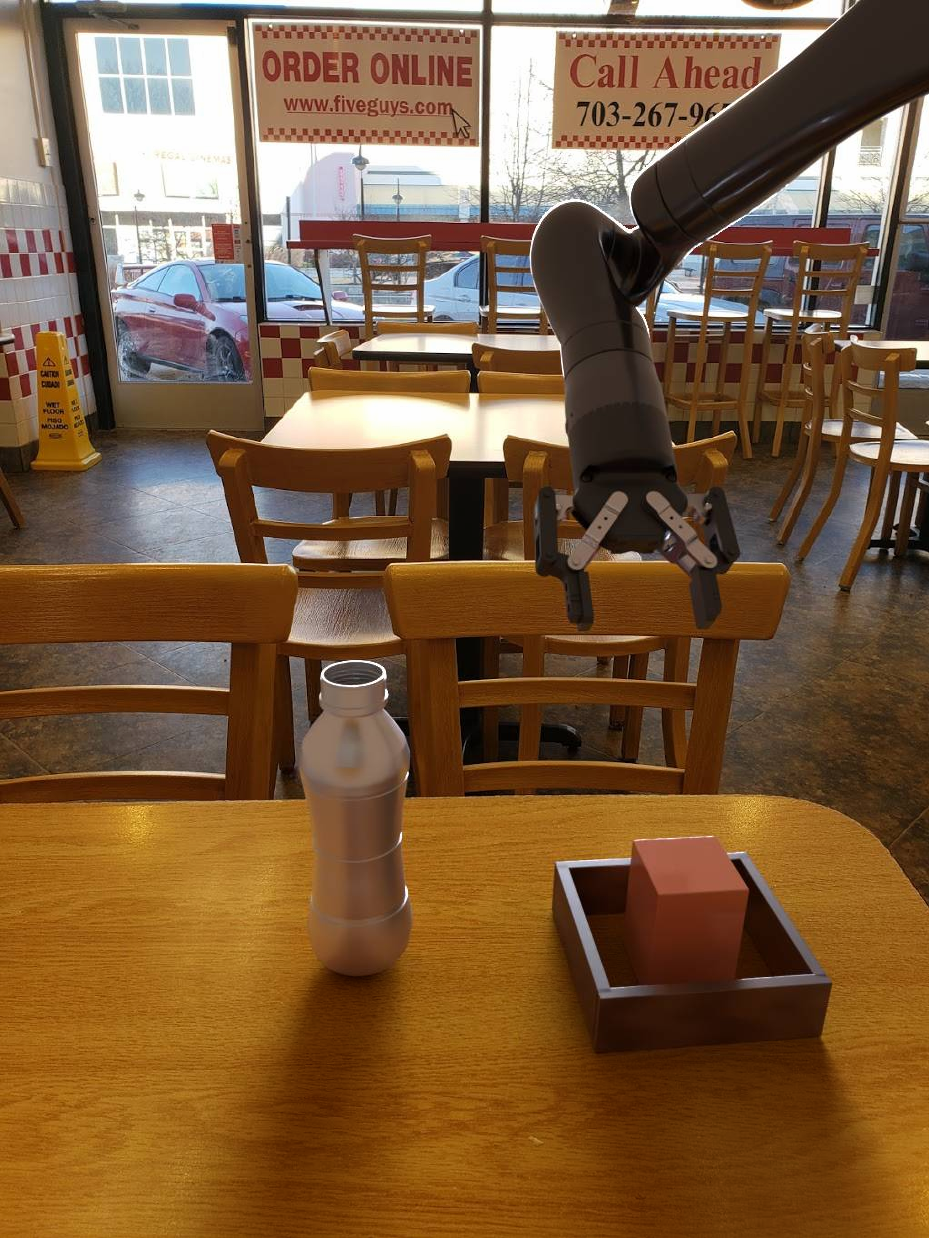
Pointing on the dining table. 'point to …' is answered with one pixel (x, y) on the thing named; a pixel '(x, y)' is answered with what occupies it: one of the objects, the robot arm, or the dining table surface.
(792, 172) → the robot arm
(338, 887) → the plastic bottle
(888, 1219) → the dining table surface
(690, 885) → the red rectangular block
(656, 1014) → the dark brown wooden tray
